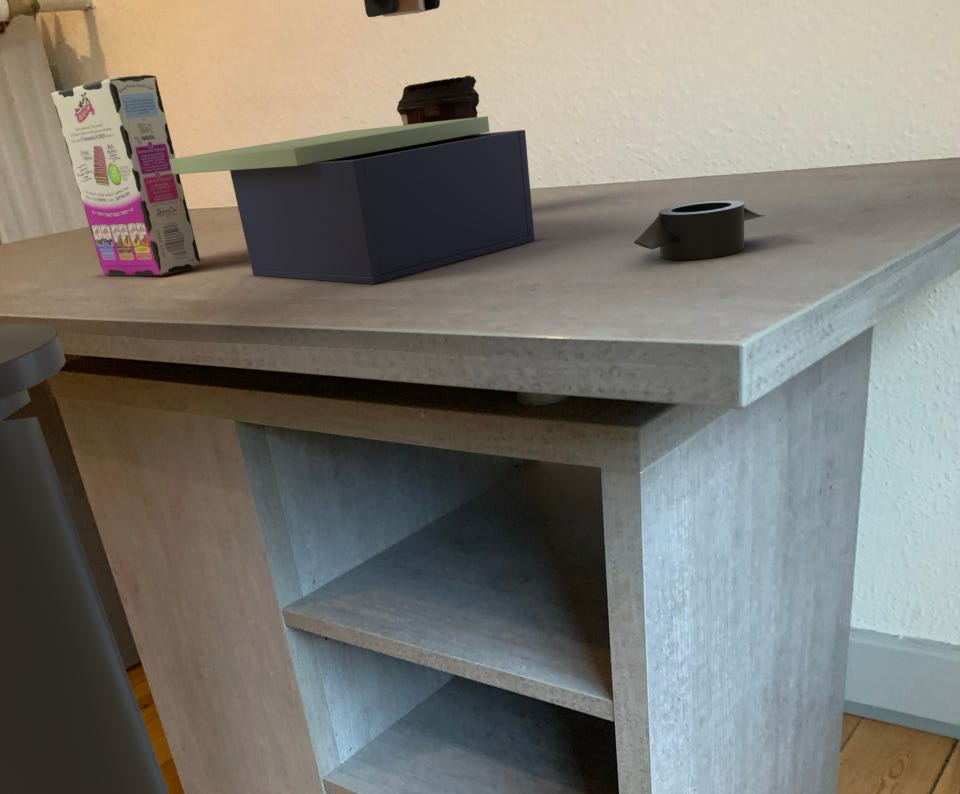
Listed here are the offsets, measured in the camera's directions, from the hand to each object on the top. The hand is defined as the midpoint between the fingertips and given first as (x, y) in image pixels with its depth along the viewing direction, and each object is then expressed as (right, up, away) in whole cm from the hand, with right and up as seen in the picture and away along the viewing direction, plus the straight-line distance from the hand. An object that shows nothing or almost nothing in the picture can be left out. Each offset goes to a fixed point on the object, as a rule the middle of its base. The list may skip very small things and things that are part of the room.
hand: (403, 9), depth 72 cm
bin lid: (-8, -4, +13) cm, 16 cm away
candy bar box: (-27, -10, +25) cm, 38 cm away
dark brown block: (+3, -3, +31) cm, 31 cm away
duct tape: (+21, -19, -3) cm, 29 cm away
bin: (-2, -13, +13) cm, 19 cm away
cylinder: (0, 0, 0) cm, 0 cm away
